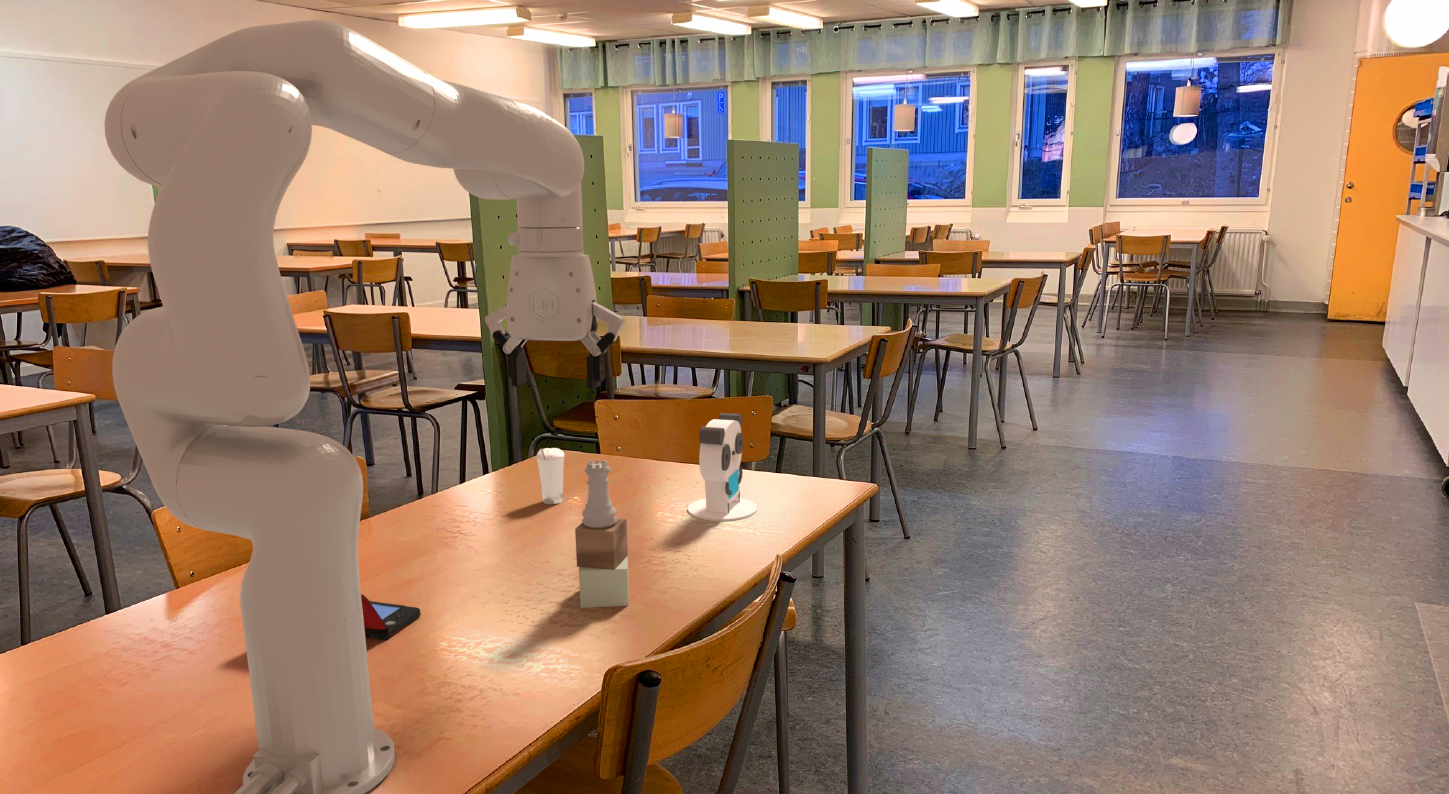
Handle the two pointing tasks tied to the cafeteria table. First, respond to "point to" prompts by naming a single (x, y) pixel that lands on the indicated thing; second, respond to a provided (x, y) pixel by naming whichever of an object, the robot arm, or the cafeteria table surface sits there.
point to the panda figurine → (722, 471)
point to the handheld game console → (386, 618)
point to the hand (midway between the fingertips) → (556, 385)
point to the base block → (604, 586)
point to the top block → (602, 545)
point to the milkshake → (551, 474)
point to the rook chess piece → (598, 497)
